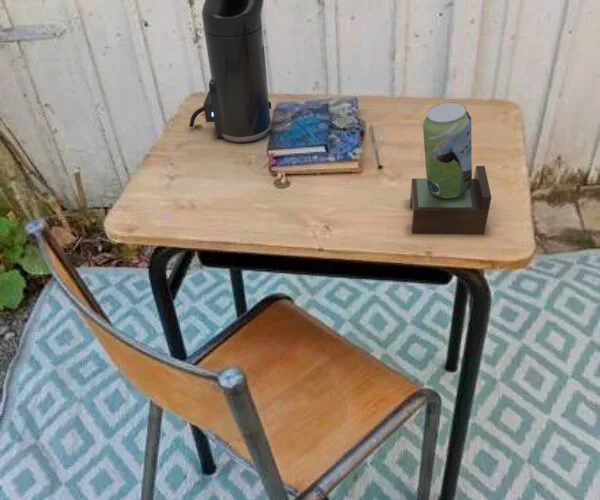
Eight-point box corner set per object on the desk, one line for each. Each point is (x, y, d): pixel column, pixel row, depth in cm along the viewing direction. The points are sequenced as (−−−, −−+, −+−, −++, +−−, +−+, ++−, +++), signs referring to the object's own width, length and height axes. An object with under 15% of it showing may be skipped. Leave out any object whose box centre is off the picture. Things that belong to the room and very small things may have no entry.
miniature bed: (411, 234, 91) (415, 196, 86) (409, 202, 96) (413, 165, 92) (484, 234, 90) (491, 197, 86) (478, 202, 95) (484, 165, 91)
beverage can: (477, 197, 89) (492, 113, 80) (428, 208, 88) (437, 124, 79) (457, 175, 93) (469, 92, 84) (410, 185, 92) (417, 102, 83)
